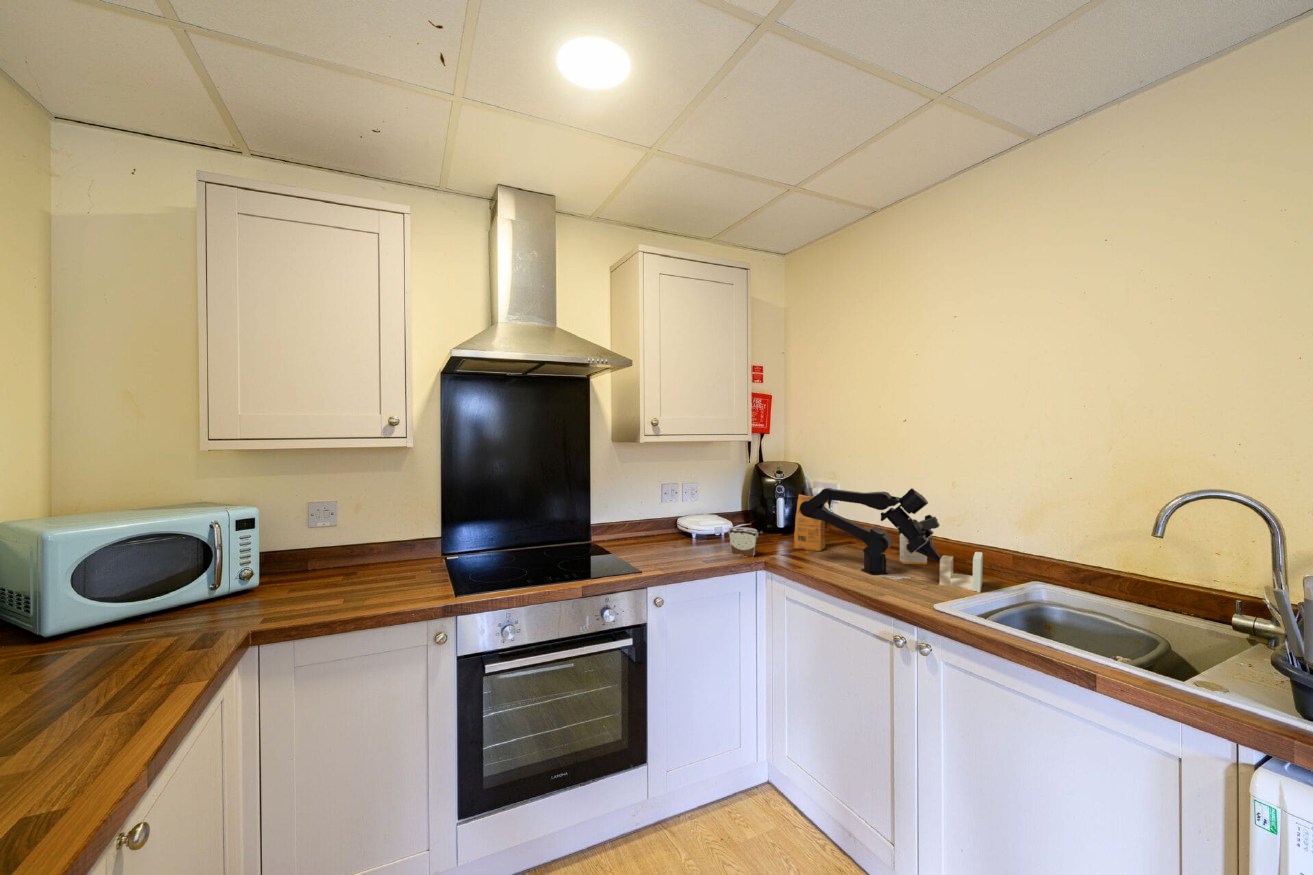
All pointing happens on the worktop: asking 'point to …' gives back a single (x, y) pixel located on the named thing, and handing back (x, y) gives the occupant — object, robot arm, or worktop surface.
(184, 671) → the worktop surface
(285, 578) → the worktop surface
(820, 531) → the coffee package
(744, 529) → the food container
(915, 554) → the supplement box
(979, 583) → the board
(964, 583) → the stepped block
